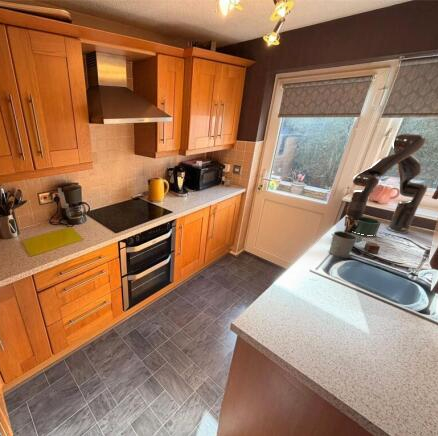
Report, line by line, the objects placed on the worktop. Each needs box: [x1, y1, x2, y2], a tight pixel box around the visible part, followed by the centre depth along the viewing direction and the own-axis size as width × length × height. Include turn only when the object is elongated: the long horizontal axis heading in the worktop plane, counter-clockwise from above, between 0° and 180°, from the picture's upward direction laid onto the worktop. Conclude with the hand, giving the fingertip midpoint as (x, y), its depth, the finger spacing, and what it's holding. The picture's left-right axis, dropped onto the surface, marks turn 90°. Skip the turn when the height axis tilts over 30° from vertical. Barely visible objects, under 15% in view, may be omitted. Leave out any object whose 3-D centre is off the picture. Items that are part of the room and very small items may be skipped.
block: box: [363, 241, 381, 255], centre depth 132 cm, size 5×5×5 cm
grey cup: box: [329, 230, 357, 259], centre depth 128 cm, size 10×10×12 cm
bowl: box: [331, 227, 363, 243], centre depth 141 cm, size 15×15×7 cm
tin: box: [352, 216, 381, 238], centre depth 155 cm, size 14×14×10 cm
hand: (347, 234), depth 142 cm, fingers closed on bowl, 2 cm apart
